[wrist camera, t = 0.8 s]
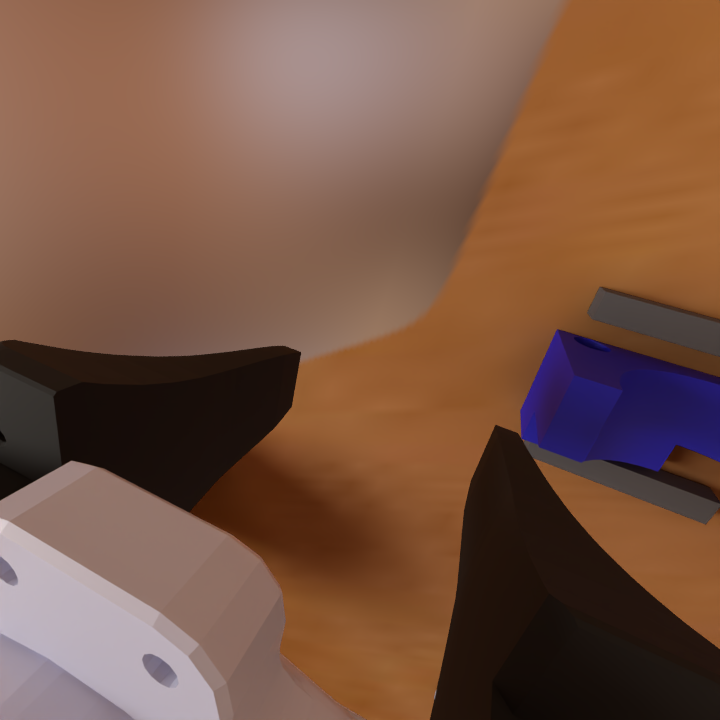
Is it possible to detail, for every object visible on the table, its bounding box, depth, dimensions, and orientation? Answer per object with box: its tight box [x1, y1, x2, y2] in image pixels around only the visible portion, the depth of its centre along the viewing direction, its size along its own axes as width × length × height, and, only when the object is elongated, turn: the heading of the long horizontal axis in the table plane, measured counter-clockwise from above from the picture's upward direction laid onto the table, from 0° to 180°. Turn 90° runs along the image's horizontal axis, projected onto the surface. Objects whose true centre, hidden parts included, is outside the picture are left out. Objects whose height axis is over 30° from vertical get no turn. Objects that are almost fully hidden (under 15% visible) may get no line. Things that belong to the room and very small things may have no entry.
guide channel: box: [524, 287, 720, 524], centre depth 17 cm, size 8×8×1 cm
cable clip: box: [521, 329, 720, 472], centre depth 15 cm, size 12×4×6 cm, turn 77°
